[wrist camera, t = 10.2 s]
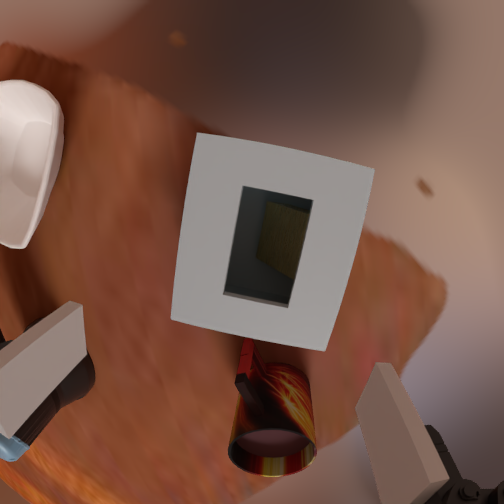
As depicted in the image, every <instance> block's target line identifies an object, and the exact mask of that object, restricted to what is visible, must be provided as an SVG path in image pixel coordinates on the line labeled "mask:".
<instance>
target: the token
mask: <svg viewBox="0 0 504 504" xmlns="http://www.w3.org/2000/svg"><path fill="white" fill-rule="evenodd" d="M309 214H310V210H307V209H303V208H300V207H297V206H294V205H290V204H285V203H278V202H271V201H267V204H266V209H265V214H264V219H263V224H262V229H261V234H260V239H259V244H258V248H257V253H256V258H257V259H259V260H260V261H262V262H264V263H265V264H267V265H269V266H271V267H272V268H274V269H276V270H277V271H279V272H281V273H283V274H284V275H286V276H288V277H289V278H291V279H293V280H294V278H295V274H296V270H297V266H298V261H299V257H300V253H301V249H302V245H303V240H304V236H305V232H306V227H307V223H308V218H309Z"/></svg>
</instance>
